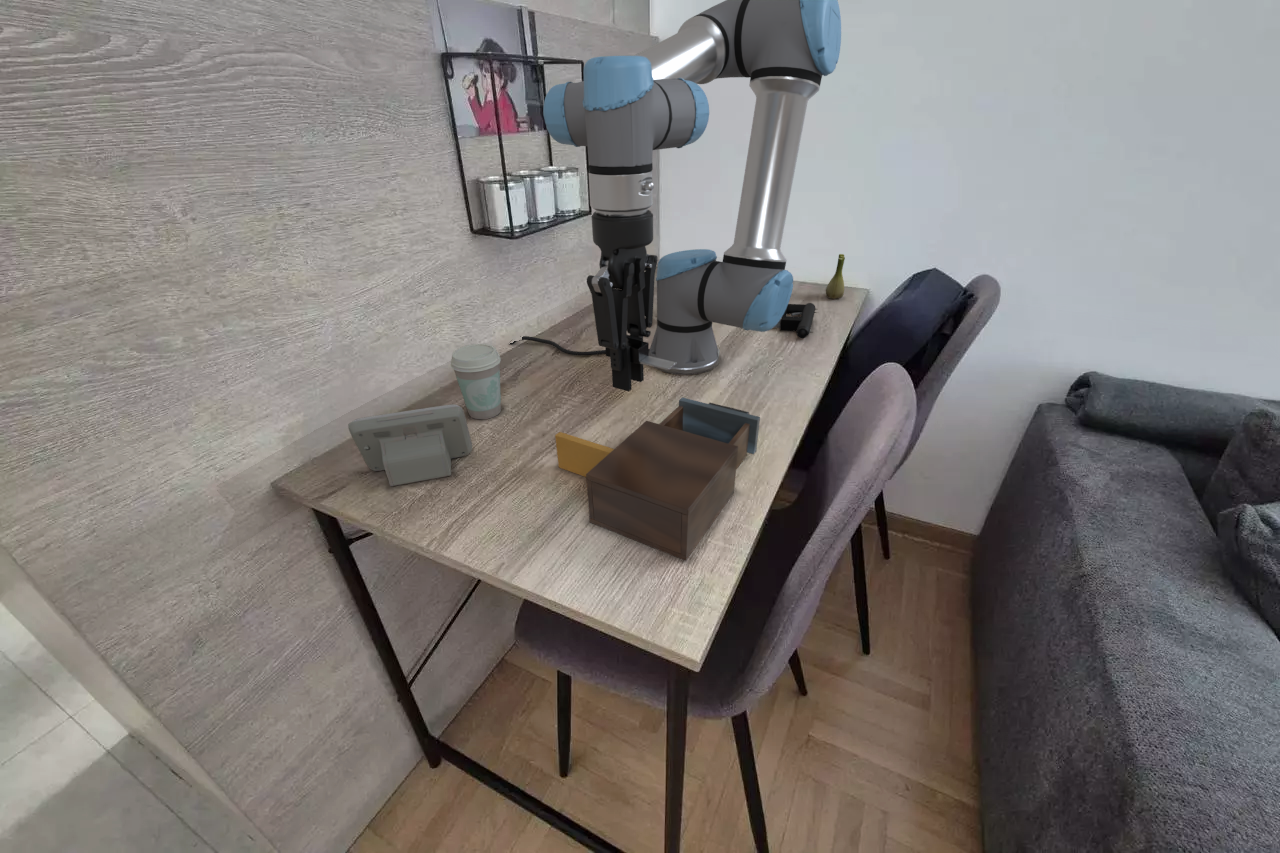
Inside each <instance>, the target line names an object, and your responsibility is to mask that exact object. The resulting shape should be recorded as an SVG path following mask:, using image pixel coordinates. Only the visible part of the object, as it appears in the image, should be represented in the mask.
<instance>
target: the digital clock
mask: <svg viewBox="0 0 1280 853" xmlns="http://www.w3.org/2000/svg"><path fill="white" fill-rule="evenodd" d="M347 427H348V431H349V433H350V436H351V438H352V440H353V441H354V443H355V445H356V447H357V449H358V451H359V453H360V455H361V457H362V459H363V461H364V462H365V465H366V466H367V468H369V469H370V470H371V471H372V472H378V471H379V472H380V471H385V474H386V477H387V481H388V483H389V487H396V486H402V485H406V484H413V483H419V482H423V481H428V480H434V479H439V478H440V479H441V478H446V477H450V476H452V459H456V458H462V457H465V456H468V455H469V454H471V453H472V451H473V442H472V438H471V435H470V430H469V426H468V422H467V417H466V414H465V411H464V409H463V407H462V406H460V405H458V404H455V403H454V404H444V405H439V406H430V407H424V408H418V409H412V410H411V409H410V410H404V411H398V412H391V413H383V414H378V415H377V414H376V415H372V416H371V415H370V416H366V417H359V418H356V419H354V420H352V421H350V422H349V423H348V425H347Z"/></svg>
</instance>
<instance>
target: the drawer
mask: <svg viewBox="0 0 1280 853" xmlns="http://www.w3.org/2000/svg"><path fill="white" fill-rule="evenodd" d="M760 422H761V416H758V415H754V414H750V412H749V411H746V410H743V409H737V408H734V407H729V406H726V405H721V404H717V403H714V402H708V403H706V402H703V401H699V400H694V399H691V398H688V397H683V396H682V397H680V398H679V400H678V406H677V407H676V408H675V409H674V410H673V411H672V412H671V413H670V414H668V415H667V416H666V417H665V418H663V420H662V421H661V422H660V423H659V424H660V425H664V426H667V427H671V428H674V429H678V430H682V431H685V432H689V433H692V434H696V435H699V436H703V437H706V438H710V439H713V440H717V441H720V442H724V443H728V444H731V445H735V446H738V454H737V465H736V470H738V468H739V467H740V465H741V464H742V463H743V461H744V460H745V459H746V458H747V455H748V454H751V455H755V453H756V452H757V451H758V450H757V449H758V439H759V430H760Z"/></svg>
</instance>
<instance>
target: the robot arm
mask: <svg viewBox="0 0 1280 853" xmlns="http://www.w3.org/2000/svg"><path fill="white" fill-rule="evenodd" d="M840 9H841V8H840V4H839V1H838V0H724V1H721V2H719V3H717V4H715V5H713V6H711V7H709V8H707V9H705V10H704V11H702V12H701V11H700V12H699V13H698V14H696V15H693V16H692V17H690V18H688V19H687V20H685V21H684V22H683V23H682V25H680V27H679V29H678V30H677V33H674V34H673V35H670V36H669V37H667V38H665V39H663V40H661V41H659V42H658V43H655V44H654V45H651V46H649V47H647V48H646V49H644V50H642V51H639V52H638V53H636V54H634V55H605V56H594V57H591V58H589V59H588V60H587V61H586V62H585V64H584V65H583V80H581V81H578V82H572V81H566V82H565V83H564V82H563V83H559V84H555V85H553V86H552V87H550V89H549V90H548V91H547V93H546V95H545V98H544V101H543V108H542V110H543V112H542V113H543V119H544V124H545V127H546V130H547V132H548V134H549V136H550V137H551V138H552V140H554V141H555V142H556V143H559V144H560V145H569V146H573V147H575V148H580V147H587V156H588V187H589V206H590V208H592V209H593V210H594V212H593V213H592V214H591V230H592V241H593V244H594V245H596V246H597V247H598V248H599V249H600V258H599V262H598V263H599V264H598V266H599V270H598V271H597V273H596V274H595V275H591V274H590V275H588V276H587V278H586V284H587V286H588V289H589V291H590V294H591V300H592V307H593V314H594V322H595V328H596V329H595V330H596V337H597V343H598V344H597V345H598V346H599V347H603V348H605V347H606V348H609V349H610V357H609V359H610V360H609V361H610V369H611V380H612V383H611V384H612V388H614V389H618V390H622V391H625V392H631V391H632V389H633V388H632V381H635V382H637V383H643V382H644V380H645V378H644V376H645V375H644V374H645V373H644V364H637V363H633V362H630V346H626V338H630V339H634V340H639V341H644V338H649V337H650V336H651V334H652V333H651V330H647V329H650V328H652V326H653V319H654V298H655V295H654V294H655V281H656V329H655V332H654V335H653V338H652V341H651V343H650V346H649V356H651V357H655V358H660V359H664V360H668V361H673V362H677V364H676V365H675V366H674V367H673V368H671V369H670V370H665V369H661V368H657V367H653V368H654V369H656V370H657V371H660V372H662V373H665V374H671V375H678V376H691V375H693V376H694V375H699V374H703V373H704V374H705V373H707V372H709V371H712V370H714V369H715V368H716V367H717V366H718V365H719V361H720V353H721V350H720V348H719V347H718V344H717V340H716V337H715V334H714V330H713V323H715V324H720V325H726V326H730V327H735V328H738V329H743V330H744V331H748V332H749V331H753V332H761V333H763V332H764V333H766V332H768V331H771V330H772V329H773V328H774V326H775V325H776V324H777V323H778V322H779V321H780V319H781V318H782V316H783V314H784V312H785V310H786V308H787V306H788V304H790V300H791V297H792V293H793V288H794V276H793V273H792V272H790V271H789V270H787V269H786V266H787V258H786V257H785V255H784V254H783V252H782V250H781V246H782V242H783V237H784V236H783V235H784V231H785V225H786V220H787V216H788V215H787V214H788V209H789V204H790V198H791V194H792V193H791V192H792V188H793V182H794V177H795V172H796V166H797V161H798V156H799V150H800V145H801V140H802V133H803V129H804V124H805V118H806V112H807V107H808V102H809V101H810V100H811V99H812V98H813V97H815V95H817V93H819V91H820V89H821V83H822V79H823V77H827V76H828V75H831V74H832V73H833V72H835V70H836V68H837V64H838V62H839V59H840V53H841V44H842V18H841V10H840ZM728 78H745V79H746V78H749V87H750V89H751V90H752V92H753V93H754V95H755V105H754V111H753V117H752V124H751V129H750V136H749V141H748V142H749V143H748V148H747V156H746V162H745V169H744V175H743V181H742V187H741V194H740V200H739V207H738V213H737V219H736V226H735V232H734V240H733V243H732V244H731V246H730V247H729V248H728V249H726V250H725V251H724V252H723V256H722V261H718V260H717V258H718V255H717V253H716V251H715V250H712V249H707V248H700V249H699V248H698V249H686V250H685V249H684V250H680V251H674V252H671V253H667V254H666V255H663V256H662V257H661V258H660V259H659V260H658V256H657V255H656V254H649V253H647V252H648V251H647V248H646V247H647V246H649V245H650V244H651V243H652V242H653V241H654V214H653V212H652V211H651V210H650V209H649V208H651V207H652V206H653V205H654V204H653V200H654V199H653V198H654V197H653V189H654V188H655V184H654V182H653V170H654V169H653V151H656V150H657V151H658V150H665V149H674V148H675V149H682V148H684V147H686V146H688V145H692V144H693V143H696V142H697V141H698V140H699V139H700V138H701V137H702V136H703V134H704V132H705V131H706V129H707V126H708V123H709V119H710V104H709V100H708V97H707V95H706V93H705V91H704V90H703V88H702V87H701V85H705V84H706V85H707V84H709V83H710V82H711V83H712V81H715V80H717V79H728ZM655 276H656V277H655ZM522 336H523V337H522V340H519V341H532V342H536V343H540V344H546V345H549V346H553V347H554V348H555V349H557V350H559V351H560V352H561V353H563V354H566V355H571V356H578V357H579V356H582V357H584V356H585V357H586V356H598V355H599V356H600V355H606V350H605V349H601V350H591V351H577V350H570V349H566V348H564V347H562V346H561V345H560V344H558V343H556V342H555V341H553V340H549V339H545V338H544V339H543V338H540V337H534V336H530V335H529V336H528V335H522ZM519 341H514V342H513V343H510V342H509V343H510V344H509V343H508V345H509V346H511V345H514V344H515V343H518V342H519Z"/></svg>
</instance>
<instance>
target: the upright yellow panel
mask: <svg viewBox="0 0 1280 853" xmlns="http://www.w3.org/2000/svg"><path fill="white" fill-rule="evenodd" d="M554 439H555V448H556V456H557V465H558V468H560V469H562V470H565V471H568V472H570V473H573V474H576V475H579V476H582V477H584V478H586V474H587V473H588V472H589V471H590V470H591V469H592V468H594V467H595V466H596V465H597V464H598V463H599V462H600V461H601V460H603V459H604V458H605V457H606V456H607V455H608V454H609V453H610V452H612V451H613V450H614V449H615V448H612V447H609V446H606V445H604V444H600V443H597V442H595V441H594V442H593V441H590V440H587V439H584V438H580V437H578V436H575V435H571V434H568V433H565V432H563V431H559V432H557V433H556V434H555V435H554Z"/></svg>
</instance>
